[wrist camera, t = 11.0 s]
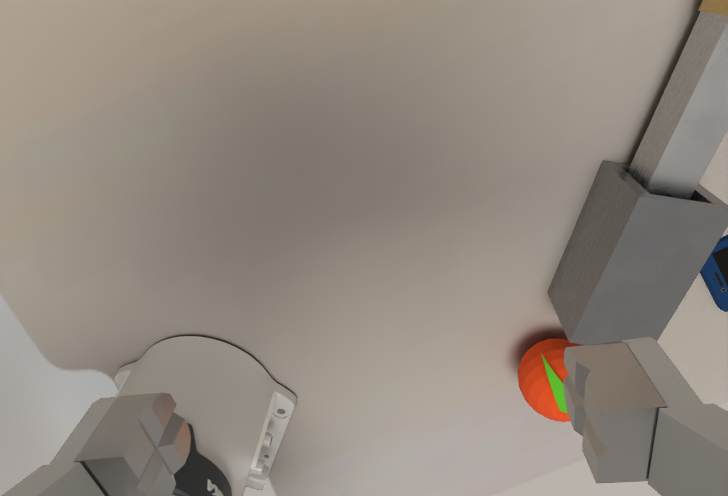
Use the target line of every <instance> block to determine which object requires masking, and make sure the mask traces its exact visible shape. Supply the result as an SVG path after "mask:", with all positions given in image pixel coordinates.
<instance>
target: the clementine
mask: <svg viewBox="0 0 728 496" xmlns="http://www.w3.org/2000/svg"><path fill="white" fill-rule="evenodd" d="M573 346H581V345H580V344H576V343H570V342H569V341H568V340H566V339H558V338H554V339H547V340H543V341H540V342H539V343H537V344H535V345H533V346H532V347H531V348H530V349H529V350H528V351H527V352H526V353H525V354H524V356H523V357H522V359H521V363H520V366H519V369H518V381H519V388H520V390H521V392H522V394H523V396H524V398H525V400H526V402H527V403H528V404H529V405H530V406H531V407H532V408H533V409H534V410H535V411H536V412H537V413H539V414H541V415H543V416H545V417H547V418H549V419H551V420H555V421H562V422H567V421H570V418H569V415H568V412H567V408H566V403H565V397H564V381H563V380H564V379H565V378H566V377H567V376H568V372H567V369H566V367H565V365H564V351H565V348H566V347H573Z"/></svg>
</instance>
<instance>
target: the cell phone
mask: <svg viewBox="0 0 728 496" xmlns="http://www.w3.org/2000/svg"><path fill="white" fill-rule="evenodd" d="M700 273H701V275H702V277H703V279H704V281H705V283H706V285H707V287H708V289H709V291H710V293H711V295H712V297H713V299H714V301H715V303H716V304H717V306H718V307H719V308H720V309H721V310H723V311H725V312H727V311H728V235H726V236H724V237H722V238H720V239H719V241H718V243H717V244H716V246H715V248H714V249H713V251H712V252H711V254H710V256H709V257H708V259H707V261H706V262H705V264H704V265H703V267H702V269H701V270H700Z"/></svg>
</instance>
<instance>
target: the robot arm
mask: <svg viewBox="0 0 728 496" xmlns="http://www.w3.org/2000/svg"><path fill="white" fill-rule="evenodd" d="M564 365H565V367H566V369H567V372H568V376H567V377H566V378H565V379H564V380H563V381H564V397H565V403H566V408H567V412H568V415H569V418H570V421H571V423H572V426H573V428H574V430H575V431H576V432H578V433H579V434H581V435H582V436H583V453H584V455H585V458H586V460H587V462H588V465H589V467H590V470H591V472H592V474H593V477H594V479H595V481H596V483H615V482H636V481H648V484H649V485H650V486H651V487H652V488H653V489H655V490H656V491H657V492H658V493H659V494H660V495H662V496H728V411H726V410H724V409H722V408H721V407H719V406H717V405H715V404H703V403H702V401H701V400H700V399H699V397H698V396H697V395H696V393H695V392H694V391H693V389H692V388H691V387H690V385H689V384H688V383H687V381H686V380H685V379H684V377H683V376H682V375H681V373H680V372H679V371H678V369H677V368H676V367H675V365H674V364H673V363H672V361H671V360H670V359H669V357H668V356H667V355H666V353H665V352H664V351H663V349H662V348H661V347H660V345H659V344H658V343H657V341H656V340H655V339H653V338H651V337H645V338H637V339H629V340H622V341H614V342H606V343H598V344H590V345H581V346H573V347H566V348H565V351H564ZM114 382H115V384H116V386H117V388H118V392H117V394H116V396H115V397H111V398H101V399H99V400H98V401H96V402H94V403H93V404H92V405H91V407H90V408H89V409H88V411H87V412H86V414H85V415H84V416H83V418H82V420H81V421H80V422H79V424H78V425H77V426H76V428H75V429H74V431H73V432H72V433H71V435H70V436H69V438H68V439H67V440H66V442H65V443H64V445H63V446H62V448H61V449H60V450H59V452H58V453H57V455H56V456H55V457H54V459H53V460H52V462H51V463H50V465H43V466H41V467H40V468H38V469H37V470H36V471H34V472H33V473H32V474H31V475H29V476H28V477H26V478H25V479H24V480H23V481H21V482H20V483H18V484H17V485H15V486H14V487H13V488H11V489H10V490H9V491H7V492H6V493H5V494H3V495H2V496H243V494H244V491H245V487H249V486H250V488H254V489H258V490H263V487H264V484H265V480H266V478H267V477H268V474H269V472H270V469H271V467H272V464H273V462H274V459H275V457H276V454H277V451H278V449H279V446H280V444H281V441H282V439H283V436H284V434H285V431H286V429H287V426H288V423H289V421H290V418H291V416H292V413H293V411H294V408H295V406H296V403H297V398H296V396H295V395H294V394H293V393H292V392H290V391H289V390H287V389H286V388H284V387H283V386H281V385H279V384H278V383H276V382H275V381H274V380H273V379H272V378H271V377H270V375H269V374H268V373H267V372H266V370H265V369H264V368H263V367H262V366H261V365H260V364H259V363H258V362H257V361H256V360H255V359H254V358H252V357H251V356H250V355H248V354H247V353H245V352H243V351H242V350H240V349H238V348H236V347H234V346H232V345H230V344H227V343H225V342H222V341H218V340H215V339H211V338H205V337H198V336H181V337H174V338H170V339H166V340H163V341H161V342H159V343H157V344H155V345H153V346H152V347H151V348H149V349H148V350H147V351H146V352H145V354H144V355H143V356H142V357H141V358H140V359H139V360H138V361H136V362H133V363H130V364H127V365H125V366H123V367H121V368H120V369H119V370H118V371H117V373H116V375H115V377H114Z"/></svg>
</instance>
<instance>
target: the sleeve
mask: <svg viewBox="0 0 728 496" xmlns="http://www.w3.org/2000/svg"><path fill="white" fill-rule="evenodd" d="M629 168H630V165H628V164H621V163H615V162H609V161H603V162H602V165H601V167H600V169H599V172H598V174H597V176H596V179H595V181H594V184H593V186H592V188H591V191H590V193H589V195H588V198H587V200H586V203H585V205H584V207H583V210H582V212H581V214H580V217H579V219H578V222H577V224H576V226H575V229H574V231H573V233H572V236H571V238H570V241H569V243H568V245H567V248H566V250H565V252H564V255H563V257H562V260H561V262H560V264H559V267H558V269H557V271H556V274H555V276H554V278H553V281H552V283H551V286H550V288H549V290H548V295H549V297H550V299H551V302H552V304H553V306H554V309H555V311H556V313H557V316H558V318H559V320H560V322H561V325H562V327H563V329H564V332H565V334H566V336H567V338H568V341H569V342H570V343H576V344H583V345H590V344H598V343H606V342H614V341H622V340H629V339H637V338H645V337H651V338H653V339H655V340H656V341H657V340H658V339H659V337H660V335H661V334H662V332H663V330H664V329H665V327H666V326H667V324H668V322H669V321H670V319H671V317H672V316H673V314H674V313H675V311H676V309H677V308H678V306H679V304H680V303H681V301H682V300H683V298H684V296H685V295H686V293H687V291H688V290H689V288H690V287H691V285H692V283H693V282H694V280H695V278H696V277H697V275H698V274H699V272H700V270H701V269H702V267H703V265H704V264H705V262H706V261H707V259H708V257H709V256H710V254H711V252H712V251H713V249H714V248H715V246H716V244H717V243H718V241H719V239H720V238H721V236H722V235H723V233H724V231H725V230H726V228H727V226H728V205H727V204H725V203H724V202H723V201H721V200H720V199H719V198H717V197H716V196H715V195H713V194H712V193H711V192H709V191H708V190H707V189H705V188H704V187H703V186H701V185H700V184H699V183H698V185H697V187H696V188H695V190H694V192H693V194H692V196H691V197H690V199H689V200H686V199H679V198H673V197H666V196H660V195H653V194H650V193H648V192H647V191H646V190H645V189H644V188H643V187H642V186H641V185H640V184H639V183H638V182H637V181H636V180H635V179H634V178H632V177H631V176H630V175H629V174H628V173H627V172H628V170H629Z"/></svg>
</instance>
